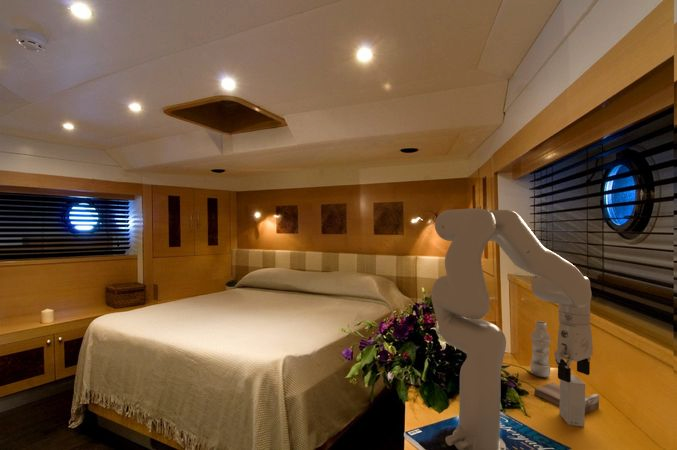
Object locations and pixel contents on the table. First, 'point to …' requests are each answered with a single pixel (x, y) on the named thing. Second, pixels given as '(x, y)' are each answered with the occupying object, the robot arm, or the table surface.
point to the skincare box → (572, 401)
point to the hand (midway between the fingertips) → (573, 376)
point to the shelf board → (553, 395)
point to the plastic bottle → (540, 350)
